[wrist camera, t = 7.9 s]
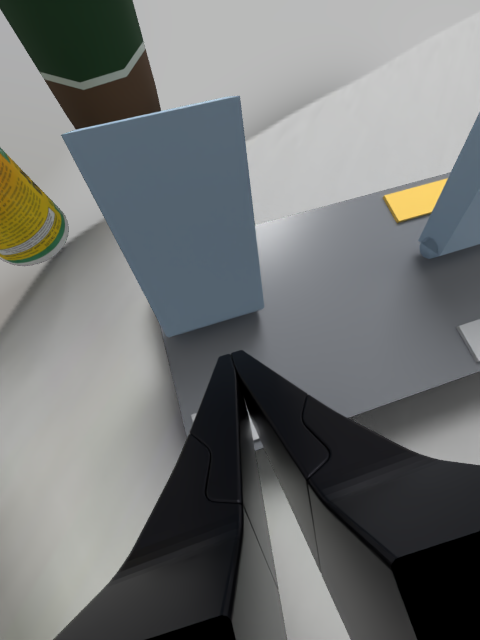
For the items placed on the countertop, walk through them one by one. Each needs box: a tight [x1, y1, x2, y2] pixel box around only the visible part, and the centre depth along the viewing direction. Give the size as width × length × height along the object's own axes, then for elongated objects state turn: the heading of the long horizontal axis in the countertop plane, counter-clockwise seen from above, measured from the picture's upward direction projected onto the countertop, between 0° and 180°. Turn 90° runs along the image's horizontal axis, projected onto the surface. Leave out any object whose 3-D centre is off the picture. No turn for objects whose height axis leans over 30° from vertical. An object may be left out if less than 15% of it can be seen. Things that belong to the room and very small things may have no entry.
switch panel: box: [160, 172, 480, 451], centre depth 16 cm, size 12×21×3 cm, turn 108°
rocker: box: [61, 96, 264, 337], centre depth 10 cm, size 2×5×9 cm
